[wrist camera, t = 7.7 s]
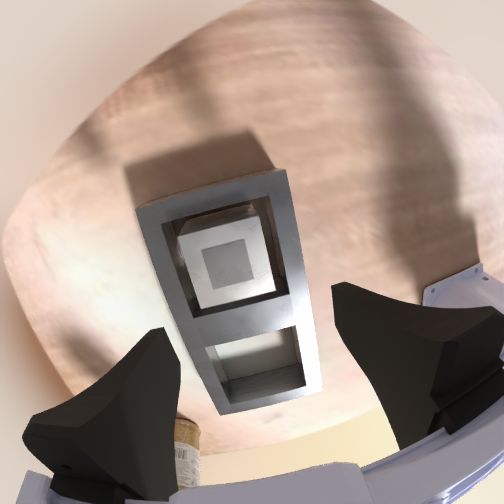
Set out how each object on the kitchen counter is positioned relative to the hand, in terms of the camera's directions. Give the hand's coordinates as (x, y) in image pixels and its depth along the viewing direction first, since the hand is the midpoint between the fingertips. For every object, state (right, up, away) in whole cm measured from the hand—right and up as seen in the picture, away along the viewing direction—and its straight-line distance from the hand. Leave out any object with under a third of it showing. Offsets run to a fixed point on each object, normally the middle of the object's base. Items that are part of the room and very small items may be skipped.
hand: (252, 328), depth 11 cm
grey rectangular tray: (-1, -1, +10) cm, 10 cm away
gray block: (-2, +4, +8) cm, 9 cm away
